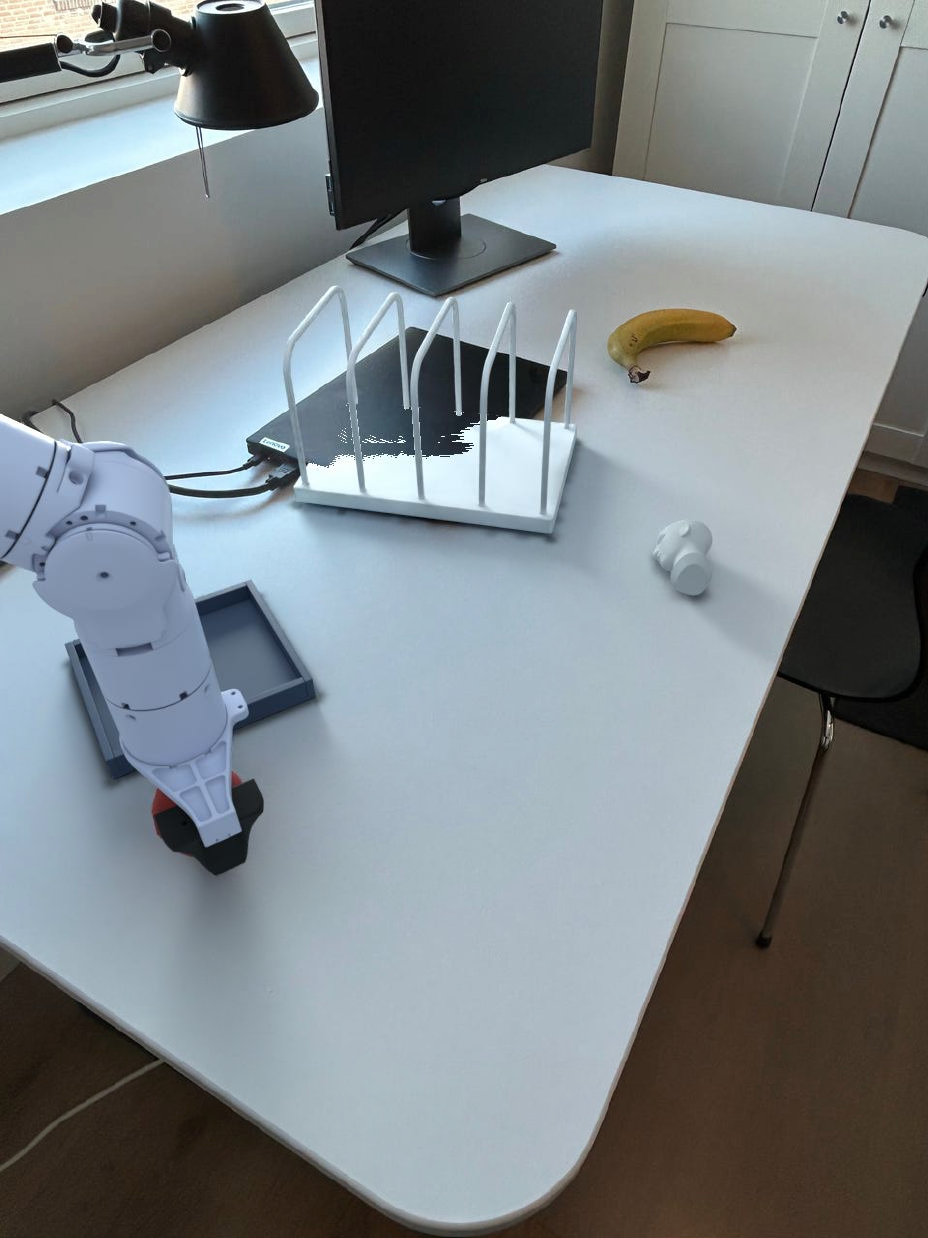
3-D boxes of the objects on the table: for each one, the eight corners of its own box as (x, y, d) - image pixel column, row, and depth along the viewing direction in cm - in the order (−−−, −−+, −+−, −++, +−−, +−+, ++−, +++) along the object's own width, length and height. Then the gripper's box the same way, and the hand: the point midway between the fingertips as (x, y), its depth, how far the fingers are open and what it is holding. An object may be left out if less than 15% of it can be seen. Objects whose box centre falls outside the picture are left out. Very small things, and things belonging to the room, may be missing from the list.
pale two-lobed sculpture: (658, 551, 81) (715, 543, 79) (654, 607, 75) (716, 600, 73) (650, 512, 78) (708, 504, 77) (645, 567, 73) (709, 559, 71)
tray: (113, 779, 61) (105, 761, 60) (72, 661, 69) (64, 643, 68) (316, 696, 67) (312, 678, 65) (255, 596, 75) (251, 578, 74)
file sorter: (576, 439, 93) (590, 295, 82) (551, 539, 81) (564, 383, 70) (350, 413, 97) (336, 272, 86) (294, 504, 85) (268, 352, 74)
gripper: (277, 733, 43) (312, 878, 52) (188, 569, 52) (231, 718, 62) (134, 793, 41) (196, 935, 50) (67, 610, 50) (130, 758, 59)
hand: (208, 818), depth 56 cm, fingers open, 7 cm apart
